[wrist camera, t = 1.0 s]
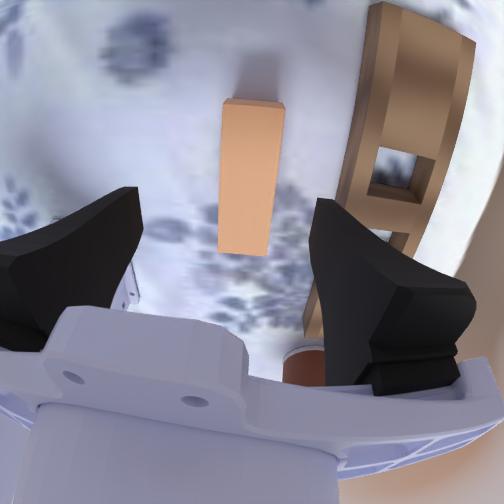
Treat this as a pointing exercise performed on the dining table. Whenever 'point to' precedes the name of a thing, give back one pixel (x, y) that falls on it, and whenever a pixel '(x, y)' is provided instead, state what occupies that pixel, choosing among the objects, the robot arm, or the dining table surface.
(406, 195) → the rail
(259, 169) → the clip
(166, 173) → the dining table surface
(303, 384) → the coffee cup
